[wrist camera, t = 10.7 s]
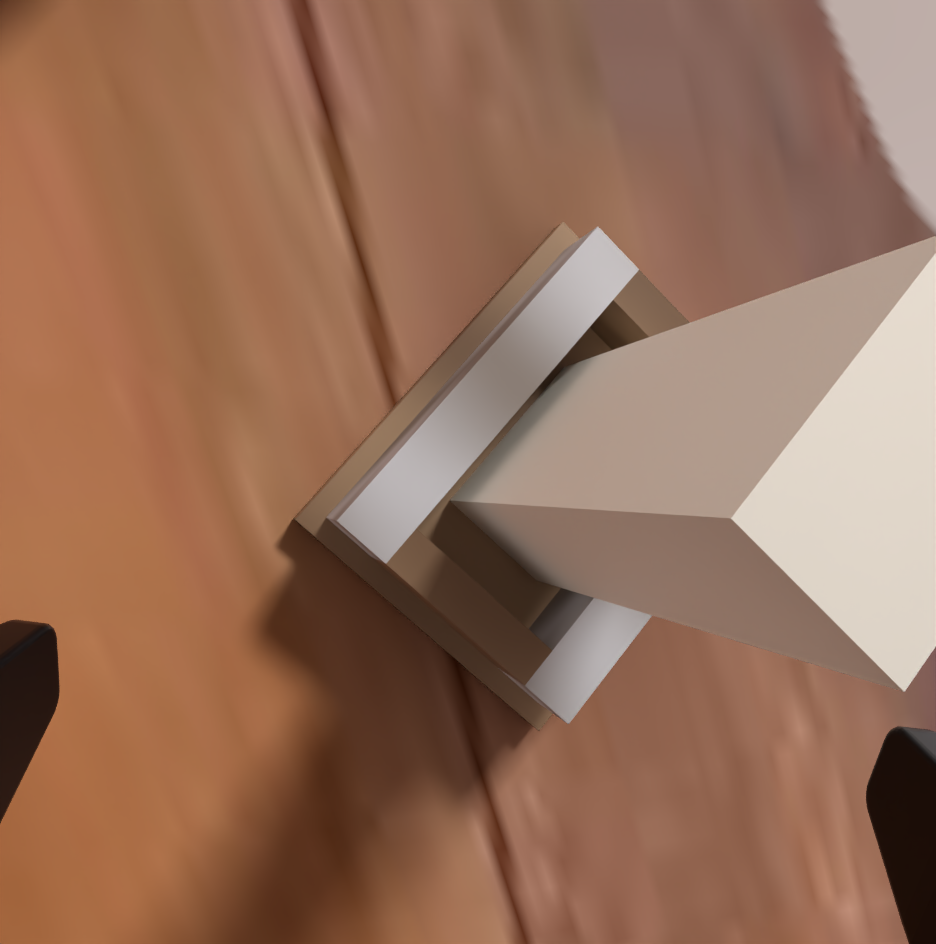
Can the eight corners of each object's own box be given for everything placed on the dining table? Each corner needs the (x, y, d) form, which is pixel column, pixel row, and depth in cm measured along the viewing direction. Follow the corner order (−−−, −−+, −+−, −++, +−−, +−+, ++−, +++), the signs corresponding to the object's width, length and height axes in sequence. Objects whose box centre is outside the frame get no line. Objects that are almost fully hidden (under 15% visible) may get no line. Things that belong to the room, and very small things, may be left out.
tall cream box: (536, 580, 21) (904, 692, 10) (449, 500, 21) (730, 518, 9) (644, 447, 22) (1100, 404, 11) (564, 367, 22) (954, 229, 10)
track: (530, 724, 22) (570, 755, 19) (293, 518, 20) (302, 522, 18) (755, 436, 24) (818, 430, 21) (554, 228, 22) (596, 196, 20)
